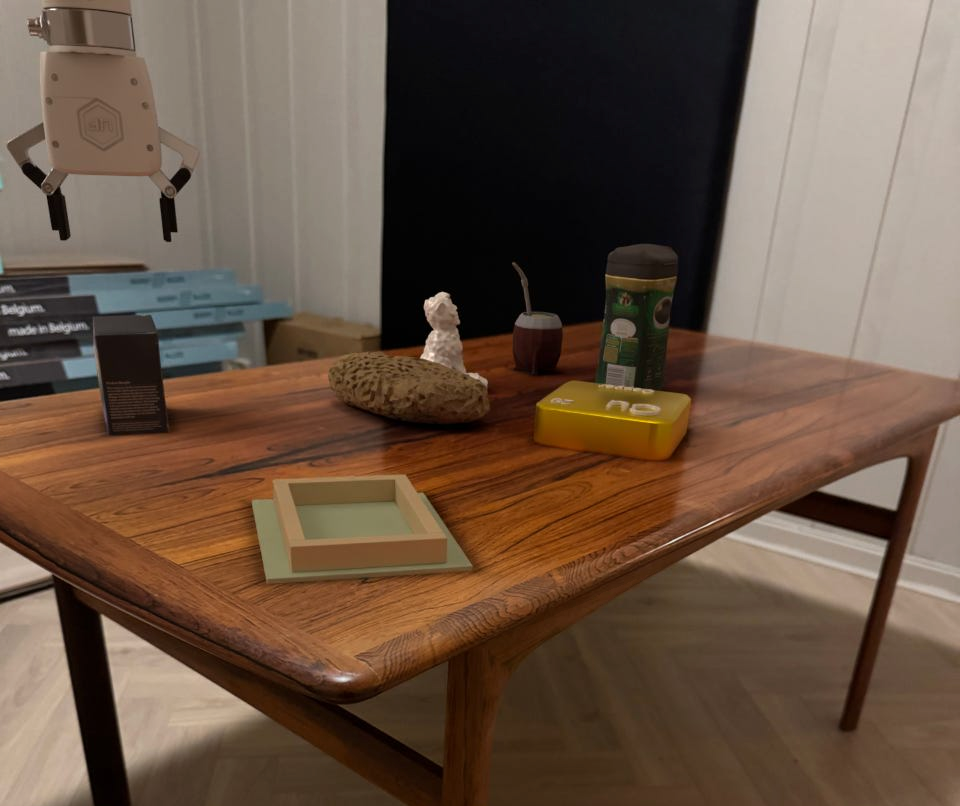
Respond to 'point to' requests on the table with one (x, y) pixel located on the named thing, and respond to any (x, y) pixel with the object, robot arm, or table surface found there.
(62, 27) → the robot arm
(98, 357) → the small box
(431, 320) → the white creature statuette
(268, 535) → the tan shallow square tray
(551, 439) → the element tile
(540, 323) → the mate gourd
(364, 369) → the sponge
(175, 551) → the table surface
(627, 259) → the coffee jar
